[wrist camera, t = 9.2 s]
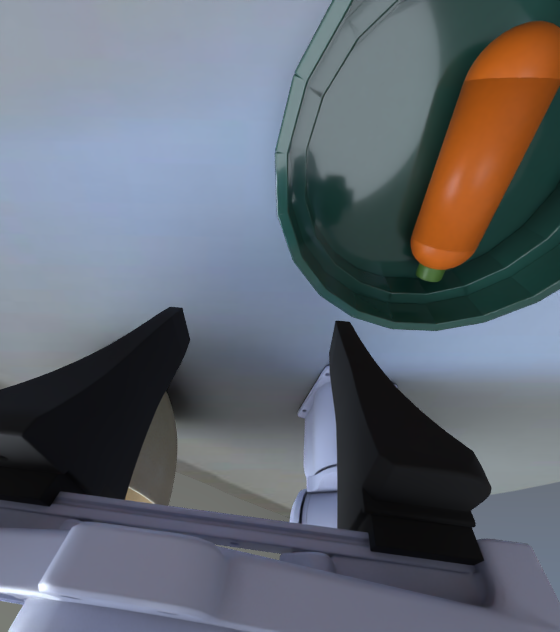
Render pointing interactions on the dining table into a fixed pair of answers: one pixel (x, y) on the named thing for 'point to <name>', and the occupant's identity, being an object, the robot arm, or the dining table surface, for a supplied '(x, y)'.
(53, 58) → the dining table surface
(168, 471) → the beige deep bowl
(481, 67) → the carrot
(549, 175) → the green glass bowl
